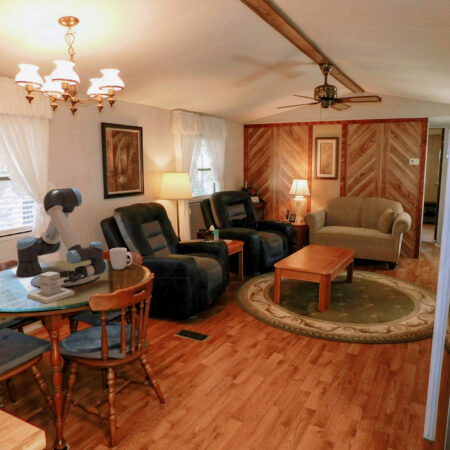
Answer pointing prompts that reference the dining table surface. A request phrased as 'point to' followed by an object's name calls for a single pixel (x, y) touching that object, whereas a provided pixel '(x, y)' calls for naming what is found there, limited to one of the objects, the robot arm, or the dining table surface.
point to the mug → (119, 258)
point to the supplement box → (50, 284)
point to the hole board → (45, 299)
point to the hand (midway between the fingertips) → (50, 280)
